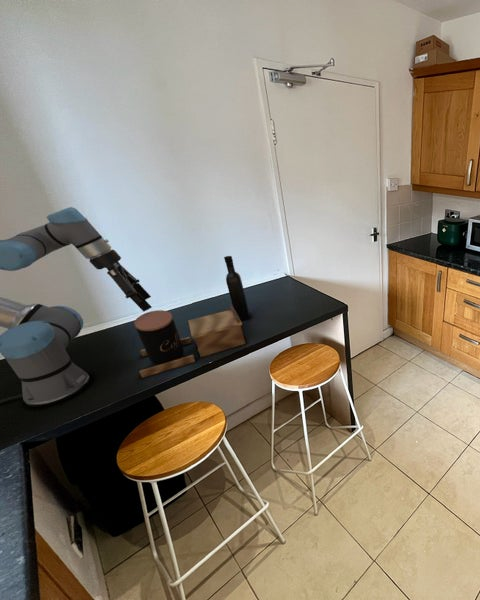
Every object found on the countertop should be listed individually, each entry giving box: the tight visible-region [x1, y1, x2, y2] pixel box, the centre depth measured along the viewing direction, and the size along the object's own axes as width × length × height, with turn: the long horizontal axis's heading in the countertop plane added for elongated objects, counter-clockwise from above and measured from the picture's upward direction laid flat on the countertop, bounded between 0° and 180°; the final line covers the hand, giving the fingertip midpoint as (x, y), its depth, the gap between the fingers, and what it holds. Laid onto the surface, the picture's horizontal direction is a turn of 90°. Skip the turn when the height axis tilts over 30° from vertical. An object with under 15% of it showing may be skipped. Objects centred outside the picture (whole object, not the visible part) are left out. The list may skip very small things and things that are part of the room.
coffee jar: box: [134, 309, 185, 366], centre depth 113 cm, size 11×11×18 cm
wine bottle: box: [223, 255, 251, 321], centre depth 140 cm, size 6×6×30 cm
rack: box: [139, 304, 246, 379], centre depth 121 cm, size 34×16×12 cm, turn 126°
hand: (147, 303), depth 116 cm, fingers open, 13 cm apart
